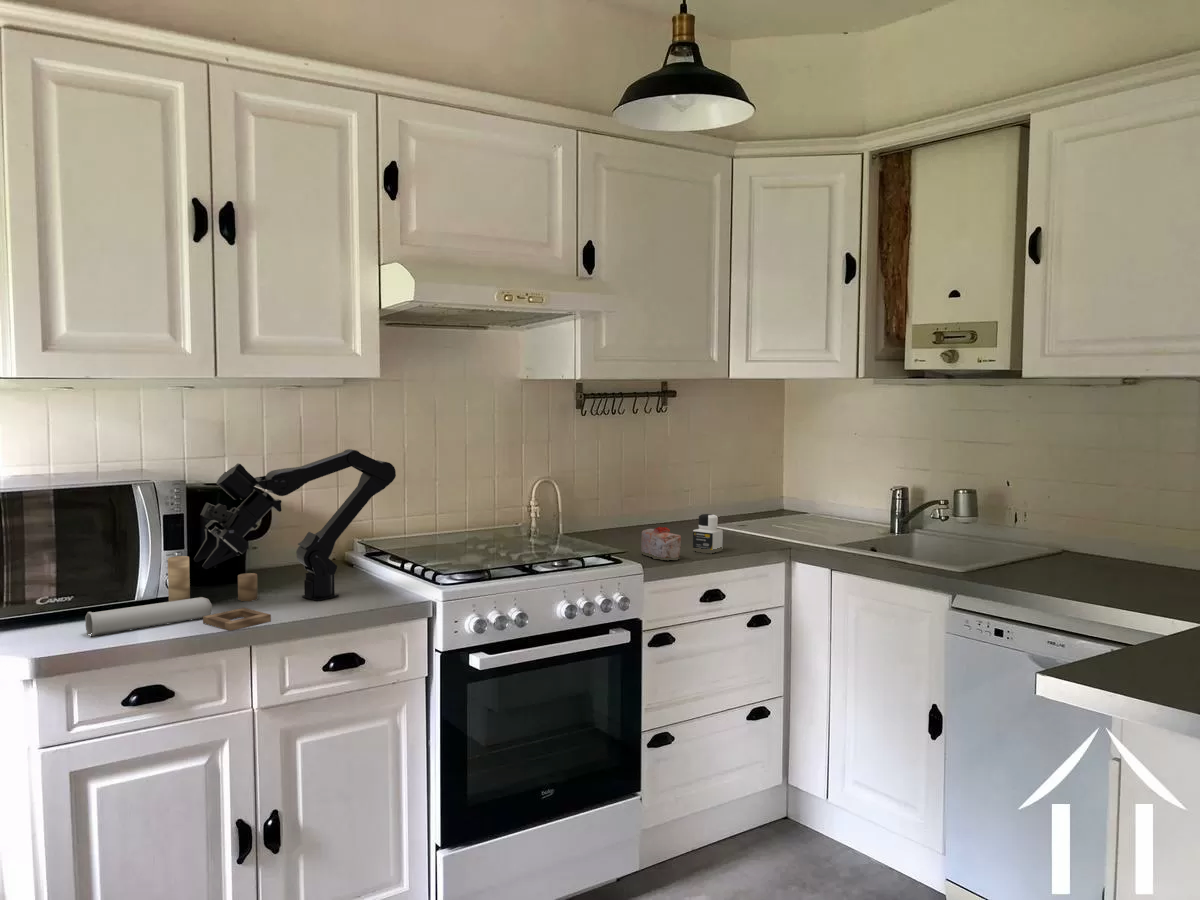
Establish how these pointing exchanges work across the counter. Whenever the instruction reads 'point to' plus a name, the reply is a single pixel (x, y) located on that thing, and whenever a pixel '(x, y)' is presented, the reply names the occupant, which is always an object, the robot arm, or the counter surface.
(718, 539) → the medicine bottle
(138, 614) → the tube
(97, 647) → the counter surface
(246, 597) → the walnut stub
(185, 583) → the oak dowel
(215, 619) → the hole plate
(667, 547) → the food item
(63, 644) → the counter surface
